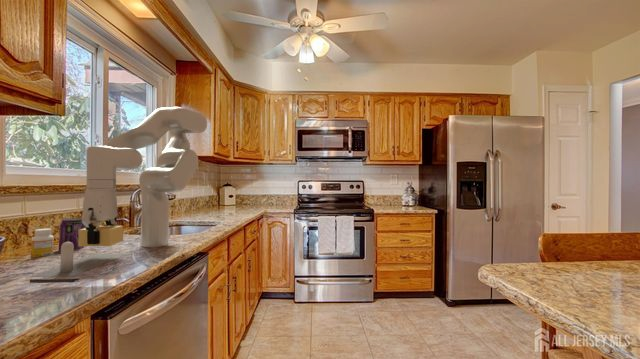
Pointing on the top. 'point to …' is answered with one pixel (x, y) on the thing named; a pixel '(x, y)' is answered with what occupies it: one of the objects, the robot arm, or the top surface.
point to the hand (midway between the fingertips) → (101, 240)
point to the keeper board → (73, 265)
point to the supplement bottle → (42, 243)
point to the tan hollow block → (103, 236)
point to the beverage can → (70, 231)
